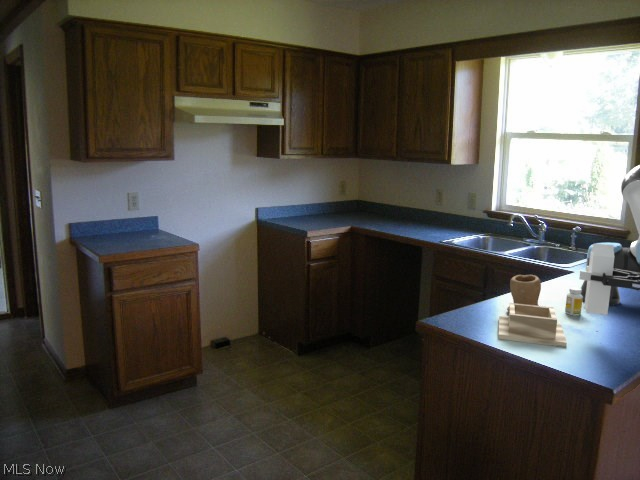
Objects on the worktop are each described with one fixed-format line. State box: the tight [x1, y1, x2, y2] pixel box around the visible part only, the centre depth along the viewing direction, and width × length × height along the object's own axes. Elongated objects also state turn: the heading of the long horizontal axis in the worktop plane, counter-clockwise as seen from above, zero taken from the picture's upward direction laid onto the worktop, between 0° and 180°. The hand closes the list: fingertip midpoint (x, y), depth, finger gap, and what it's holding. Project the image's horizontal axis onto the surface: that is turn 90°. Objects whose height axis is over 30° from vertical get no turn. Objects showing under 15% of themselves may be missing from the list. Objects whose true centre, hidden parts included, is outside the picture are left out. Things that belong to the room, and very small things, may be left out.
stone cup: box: [506, 274, 542, 313], centre depth 196 cm, size 15×12×15 cm
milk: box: [584, 243, 615, 316], centre depth 172 cm, size 6×6×22 cm
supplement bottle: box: [564, 286, 583, 317], centre depth 200 cm, size 5×5×10 cm
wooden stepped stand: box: [497, 302, 567, 348], centre depth 179 cm, size 20×20×8 cm
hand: (583, 272), depth 175 cm, fingers closed on milk, 7 cm apart
